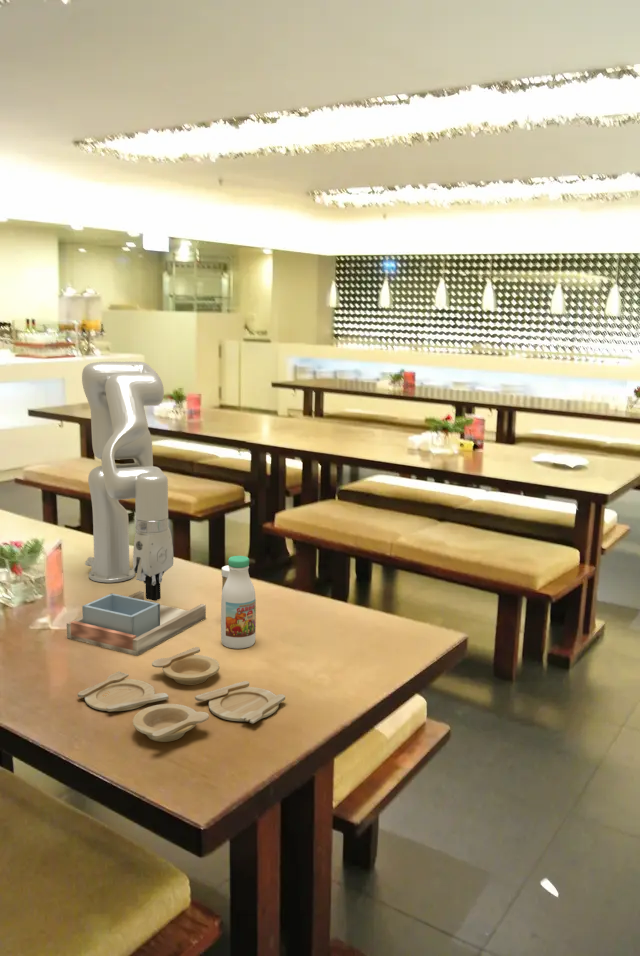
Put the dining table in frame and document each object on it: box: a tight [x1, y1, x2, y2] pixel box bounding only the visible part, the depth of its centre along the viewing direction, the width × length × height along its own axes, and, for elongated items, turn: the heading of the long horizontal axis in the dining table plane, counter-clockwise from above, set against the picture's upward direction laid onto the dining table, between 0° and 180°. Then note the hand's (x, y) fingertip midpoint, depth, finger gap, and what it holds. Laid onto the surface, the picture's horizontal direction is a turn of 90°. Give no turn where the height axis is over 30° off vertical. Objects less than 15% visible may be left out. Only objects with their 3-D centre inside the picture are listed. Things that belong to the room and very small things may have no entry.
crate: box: [81, 593, 161, 638], centre depth 189 cm, size 14×10×6 cm
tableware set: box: [77, 646, 286, 743], centre depth 158 cm, size 35×29×4 cm
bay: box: [66, 590, 207, 657], centre depth 195 cm, size 20×26×4 cm
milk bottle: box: [220, 555, 257, 650], centre depth 186 cm, size 8×8×20 cm
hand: (153, 598), depth 199 cm, fingers closed
